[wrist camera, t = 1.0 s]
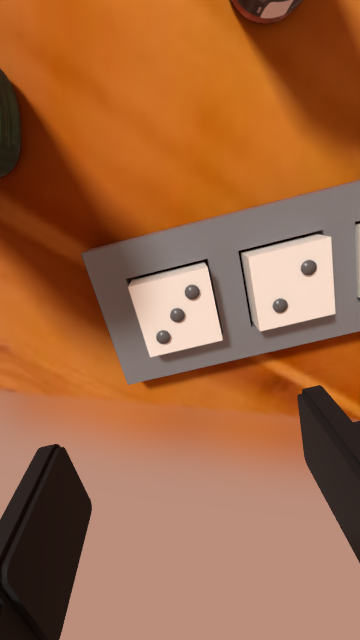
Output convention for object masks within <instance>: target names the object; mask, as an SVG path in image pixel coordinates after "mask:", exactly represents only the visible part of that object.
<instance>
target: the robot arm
mask: <svg viewBox="0 0 360 640" xmlns="http://www.w3.org/2000/svg"><path fill="white" fill-rule="evenodd" d="M298 406H299V415H300V423H301V431H302V441H303V449H304V457H305V460H306V463H307V465H308V468H309V469H310V471H311V473H312V475H313V477H314V479H315V480H316V482H317V484H318V486H319V488H320V490H321V492H322V494H323V495H324V497H325V499H326V501H327V503H328V505H329V507H330V508H331V510H332V512H333V514H334V516H335V517H336V520H337V521H338V523H339V525H340V527H341V529H342V531H343V533H344V534H345V536H346V538H347V540H348V542H349V544H350V545H351V547H352V549H353V551H354V553H355V555H356V557H357V559H358V560H359V562H360V421H357V422H352V421H351V420H350V418H349V417H348V416H347V415H346V414H345V413H344V411H343V410H342V409H341V408H340V407H339V406H338V404H337V403H336V402H335V401H334V400H333V399H332V397H331V396H330V395H329V394H328V393H327V392H326V390H325V389H324V388H323V387H322V386H320V385H319V386H314V387H310V388H305V389H303V390H302V394H299V395H298ZM91 511H92V505H91V501H90V498H89V497H88V494H87V492H86V490H85V488H84V486H83V484H82V482H81V480H80V478H79V476H78V474H77V472H76V470H75V468H74V466H73V464H72V462H71V460H70V457H69V455H68V454H67V452H66V450H65V448H64V447H60V446H59V445H58V444H54V445H49V446H45V447H41V448H39V449H38V450H37V452H36V454H35V456H34V457H33V460H32V461H31V463H30V465H29V467H28V469H27V471H26V472H25V474H24V476H23V478H22V480H21V482H20V484H19V486H18V487H17V489H16V491H15V493H14V495H13V497H12V499H11V500H10V502H9V505H8V506H7V508H6V510H5V512H4V514H3V515H2V517H1V519H0V640H59V639H60V635H61V632H62V628H63V624H64V620H65V616H66V612H67V608H68V604H69V599H70V596H71V592H72V587H73V584H74V580H75V576H76V572H77V568H78V563H79V560H80V556H81V552H82V548H83V544H84V540H85V536H86V532H87V528H88V524H89V520H90V516H91Z"/></svg>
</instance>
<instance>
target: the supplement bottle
mask: <svg viewBox="0 0 360 640" xmlns="http://www.w3.org/2000/svg"><path fill="white" fill-rule="evenodd" d="M231 1H232V3H233V5H234V6H235V8H236V9H237V10H238V11H239V13H240V14H242V15H243V16H244V17H246V18H247V19H248V20H250V21H253V22H256V23H262V24H267V23H274V22H277V21H279V20H282V19H284V18H285V17H287V16H288V15H289V14H291V13H292V12H293V11H294V10H295V9H296V8H297V6H299V4H300V3H301V2H302V0H231Z"/></svg>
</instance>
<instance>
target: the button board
mask: <svg viewBox="0 0 360 640" xmlns="http://www.w3.org/2000/svg"><path fill="white" fill-rule="evenodd" d="M356 221H360V180H357V181H353V182H349V183H345V184H342V185H338V186H334V187H330V188H326V189H322V190H318V191H314V192H310V193H306V194H303V195H299V196H295V197H291V198H287V199H283V200H279V201H275V202H271V203H267V204H263V205H260V206H256V207H252V208H248V209H244V210H240V211H236V212H232V213H228V214H224V215H221V216H217V217H213V218H209V219H205V220H201V221H197V222H193V223H189V224H185V225H182V226H178V227H174V228H170V229H166V230H162V231H158V232H154V233H150V234H146V235H143V236H139V237H135V238H131V239H127V240H123V241H119V242H115V243H111V244H107V245H103V246H100V247H96V248H92V249H89V250H87V251H85V252H83V253H81V255H82V258H83V261H84V263H85V266H86V269H87V272H88V275H89V277H90V280H91V283H92V286H93V289H94V291H95V294H96V297H97V300H98V303H99V305H100V308H101V311H102V314H103V317H104V319H105V322H106V325H107V328H108V331H109V333H110V336H111V339H112V342H113V344H114V347H115V350H116V353H117V356H118V358H119V361H120V364H121V367H122V370H123V372H124V375H125V378H126V381H127V384H128V385H129V384H134V383H138V382H142V381H147V380H151V379H155V378H160V377H164V376H168V375H173V374H177V373H181V372H186V371H190V370H194V369H199V368H203V367H207V366H211V365H216V364H220V363H224V362H229V361H233V360H237V359H242V358H246V357H250V356H255V355H259V354H263V353H268V352H272V351H276V350H281V349H285V348H289V347H294V346H298V345H302V344H307V343H311V342H315V341H320V340H324V339H328V338H333V337H337V336H341V335H346V334H350V333H354V332H359V331H360V298H359V297H357V273H356V239H355V222H356ZM308 233H309V234H310V235H313V234H319V235H324V236H330V237H331V244H332V261H333V279H334V296H335V313H336V314H333V315H328V316H324V317H320V318H316V319H311V320H307V321H303V322H299V323H294V324H290V325H286V326H282V327H277V328H273V329H269V330H265V331H259V330H258V328H257V327H256V326H255V324H254V323H253V321H252V318H251V316H249V312H248V306H247V300H246V294H245V288H244V282H243V276H242V270H241V264H240V258H239V253H238V251H240V250H244V249H248V248H252V247H256V246H260V245H264V244H268V243H272V242H276V241H280V240H284V239H288V238H292V237H296V236H300V235H304V234H308ZM204 259H205V260H206V265H207V267H208V272H209V277H210V281H211V286H212V291H213V296H214V300H215V305H216V310H217V315H218V319H219V324H220V329H221V334H222V339H223V340H222V341H218V342H214V343H209V344H205V345H201V346H197V347H192V348H188V349H184V350H180V351H175V352H171V353H167V354H162V355H158V356H154V357H150V356H149V352H148V349H147V346H146V343H145V340H144V336H143V333H142V330H141V327H140V324H139V321H138V317H137V314H136V311H135V308H134V305H133V301H132V298H131V295H130V292H129V289H128V286H129V284H130V282H131V280H132V277H136V276H140V275H144V274H148V273H152V272H156V271H160V270H164V269H168V268H172V267H176V266H180V265H184V264H188V263H192V262H196V261H200V260H204Z"/></svg>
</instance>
